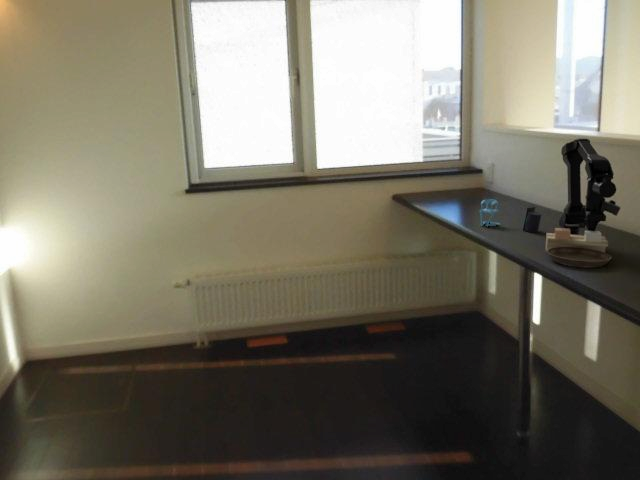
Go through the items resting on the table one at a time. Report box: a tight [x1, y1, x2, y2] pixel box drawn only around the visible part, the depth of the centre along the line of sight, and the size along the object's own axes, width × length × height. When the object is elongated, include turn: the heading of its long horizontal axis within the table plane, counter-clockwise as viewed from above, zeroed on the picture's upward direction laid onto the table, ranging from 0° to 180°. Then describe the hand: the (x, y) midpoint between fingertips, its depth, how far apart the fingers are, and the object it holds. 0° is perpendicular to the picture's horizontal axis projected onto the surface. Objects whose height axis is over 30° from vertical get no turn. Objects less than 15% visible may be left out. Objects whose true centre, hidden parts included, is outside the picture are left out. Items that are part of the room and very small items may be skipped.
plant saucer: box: [546, 247, 612, 269], centre depth 207 cm, size 21×21×3 cm
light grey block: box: [583, 230, 603, 242], centre depth 213 cm, size 5×5×3 cm
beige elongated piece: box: [545, 232, 609, 253], centre depth 219 cm, size 11×20×6 cm, turn 72°
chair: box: [478, 198, 501, 228], centre depth 271 cm, size 8×8×12 cm
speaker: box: [522, 206, 542, 233], centre depth 258 cm, size 8×6×10 cm
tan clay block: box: [554, 227, 571, 239], centre depth 218 cm, size 5×5×3 cm
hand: (591, 236), depth 217 cm, fingers closed
